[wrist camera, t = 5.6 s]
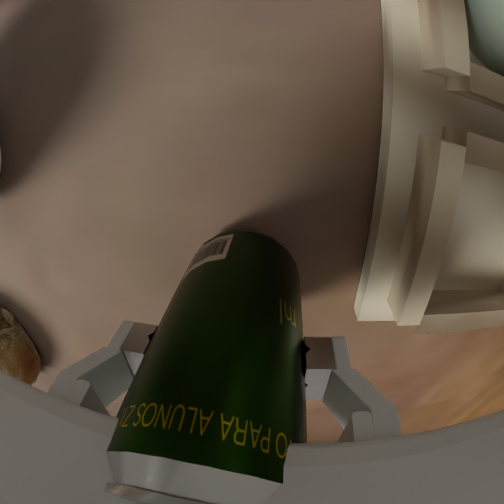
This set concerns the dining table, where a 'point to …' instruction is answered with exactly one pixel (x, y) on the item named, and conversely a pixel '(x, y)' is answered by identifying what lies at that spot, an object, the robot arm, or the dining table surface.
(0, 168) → the lidded jar
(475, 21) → the mint green domed part
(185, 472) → the beer can
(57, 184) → the dining table surface
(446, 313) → the caddy
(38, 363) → the bread roll
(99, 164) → the dining table surface
